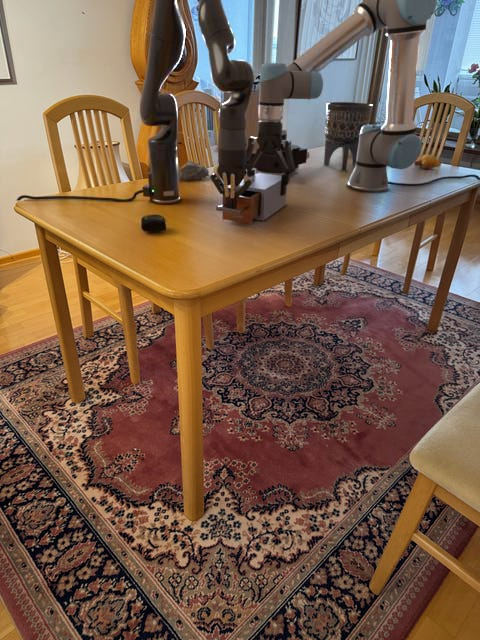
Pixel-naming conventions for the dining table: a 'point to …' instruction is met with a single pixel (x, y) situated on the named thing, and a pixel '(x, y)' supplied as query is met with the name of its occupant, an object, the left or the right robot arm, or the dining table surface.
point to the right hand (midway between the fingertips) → (266, 192)
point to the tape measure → (153, 223)
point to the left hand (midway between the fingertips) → (231, 209)
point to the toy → (427, 162)
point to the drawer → (243, 208)
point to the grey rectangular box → (267, 193)
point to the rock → (192, 172)
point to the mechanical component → (270, 163)
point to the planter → (345, 129)
